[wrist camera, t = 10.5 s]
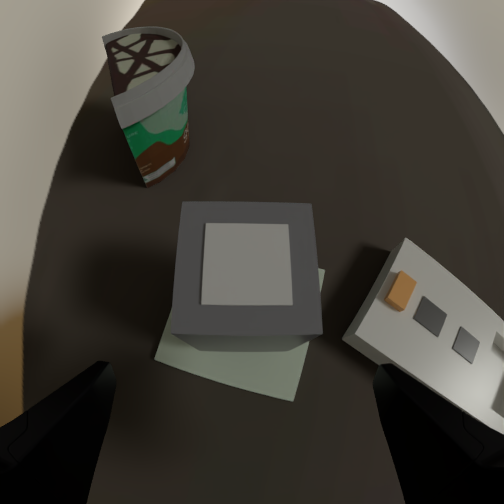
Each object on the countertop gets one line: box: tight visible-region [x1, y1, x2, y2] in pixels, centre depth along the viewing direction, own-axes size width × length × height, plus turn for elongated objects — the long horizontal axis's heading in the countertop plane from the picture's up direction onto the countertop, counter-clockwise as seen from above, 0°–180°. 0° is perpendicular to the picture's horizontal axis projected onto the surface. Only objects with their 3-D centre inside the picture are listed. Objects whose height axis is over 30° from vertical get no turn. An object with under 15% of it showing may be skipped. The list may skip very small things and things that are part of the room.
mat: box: [154, 268, 325, 401], centre depth 19 cm, size 9×9×1 cm
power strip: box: [342, 238, 504, 434], centre depth 17 cm, size 18×8×3 cm, turn 53°
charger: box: [171, 202, 323, 352], centre depth 14 cm, size 5×5×9 cm
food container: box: [102, 27, 195, 188], centre depth 20 cm, size 12×6×10 cm, turn 25°
